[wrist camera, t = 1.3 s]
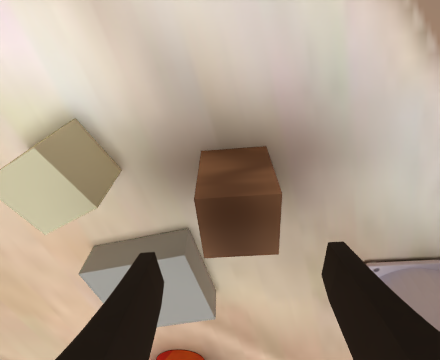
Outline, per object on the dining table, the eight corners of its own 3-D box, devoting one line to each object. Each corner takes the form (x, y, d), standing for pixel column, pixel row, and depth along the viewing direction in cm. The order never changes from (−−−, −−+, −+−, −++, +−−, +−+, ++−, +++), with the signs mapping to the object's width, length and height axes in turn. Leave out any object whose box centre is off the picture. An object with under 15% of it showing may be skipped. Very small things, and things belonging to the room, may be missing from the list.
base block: (189, 224, 20) (184, 255, 17) (216, 287, 24) (215, 319, 21) (95, 242, 21) (78, 273, 18) (136, 299, 25) (127, 331, 23)
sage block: (75, 117, 15) (33, 147, 12) (122, 169, 17) (97, 208, 13) (30, 148, 16) (-21, 184, 13) (78, 193, 18) (45, 235, 15)
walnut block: (266, 145, 16) (282, 193, 12) (265, 198, 18) (278, 254, 14) (201, 150, 16) (194, 199, 12) (208, 201, 18) (204, 258, 14)
